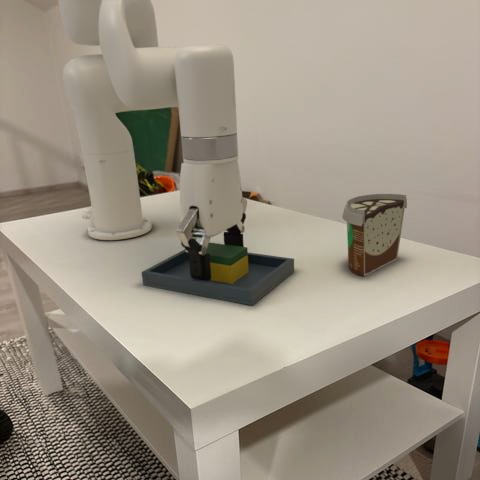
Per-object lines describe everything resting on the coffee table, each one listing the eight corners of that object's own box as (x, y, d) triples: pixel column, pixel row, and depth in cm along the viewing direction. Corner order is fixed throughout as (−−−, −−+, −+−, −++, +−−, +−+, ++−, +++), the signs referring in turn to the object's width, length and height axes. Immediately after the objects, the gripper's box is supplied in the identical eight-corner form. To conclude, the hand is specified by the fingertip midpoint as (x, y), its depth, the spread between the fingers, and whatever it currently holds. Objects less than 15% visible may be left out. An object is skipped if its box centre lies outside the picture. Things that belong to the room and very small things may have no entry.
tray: (143, 285, 76) (141, 272, 75) (193, 256, 87) (192, 244, 86) (252, 305, 68) (251, 291, 67) (294, 271, 78) (294, 258, 77)
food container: (368, 249, 86) (372, 189, 81) (402, 257, 82) (408, 194, 77) (324, 270, 78) (325, 205, 74) (358, 279, 74) (362, 211, 70)
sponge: (191, 277, 76) (189, 252, 75) (209, 266, 80) (207, 242, 79) (232, 284, 73) (230, 257, 72) (248, 272, 77) (247, 247, 75)
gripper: (219, 139, 77) (226, 247, 85) (148, 158, 64) (163, 284, 72) (263, 140, 74) (266, 253, 82) (197, 160, 61) (208, 293, 68)
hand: (218, 267), depth 77 cm, fingers open, 9 cm apart
